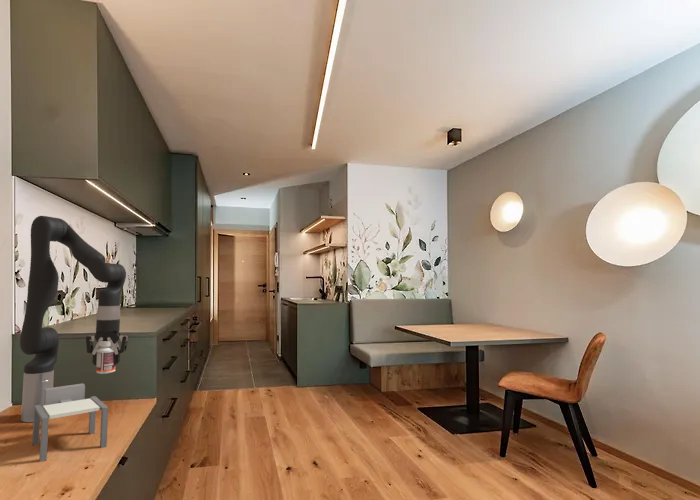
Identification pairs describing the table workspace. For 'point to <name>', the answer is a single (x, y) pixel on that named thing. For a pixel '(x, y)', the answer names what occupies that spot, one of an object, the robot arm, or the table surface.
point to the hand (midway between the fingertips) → (106, 364)
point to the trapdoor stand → (41, 414)
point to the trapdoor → (67, 401)
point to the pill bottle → (105, 358)
